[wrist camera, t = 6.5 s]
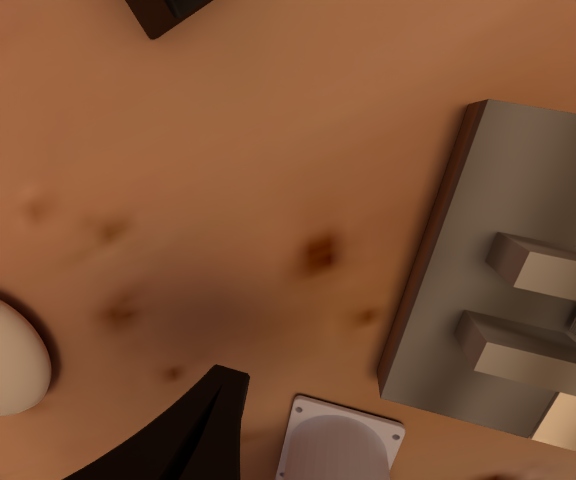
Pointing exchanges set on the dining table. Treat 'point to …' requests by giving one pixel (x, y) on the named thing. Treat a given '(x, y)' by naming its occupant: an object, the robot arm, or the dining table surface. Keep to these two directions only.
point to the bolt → (573, 327)
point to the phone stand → (163, 13)
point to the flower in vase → (21, 363)
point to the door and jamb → (496, 281)
